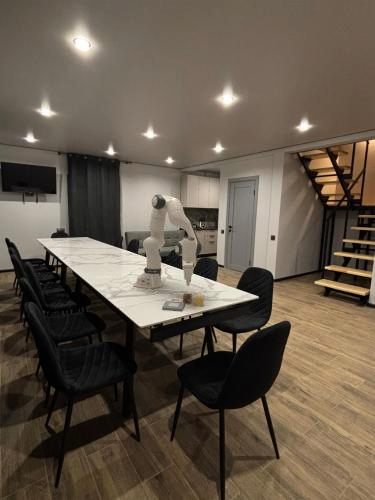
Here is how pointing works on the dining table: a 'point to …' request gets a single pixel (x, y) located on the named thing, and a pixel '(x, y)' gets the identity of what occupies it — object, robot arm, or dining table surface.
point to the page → (175, 300)
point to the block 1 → (187, 298)
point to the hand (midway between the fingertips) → (188, 283)
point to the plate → (173, 305)
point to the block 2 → (199, 300)
